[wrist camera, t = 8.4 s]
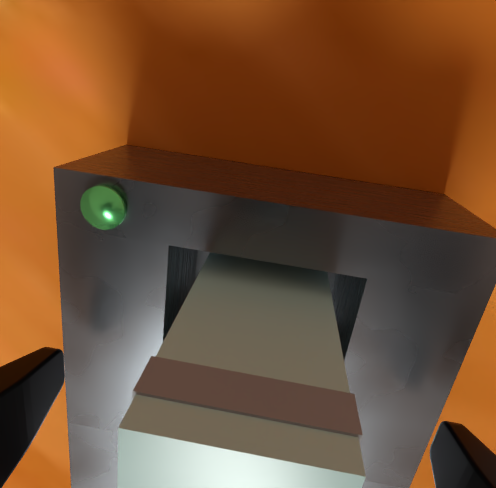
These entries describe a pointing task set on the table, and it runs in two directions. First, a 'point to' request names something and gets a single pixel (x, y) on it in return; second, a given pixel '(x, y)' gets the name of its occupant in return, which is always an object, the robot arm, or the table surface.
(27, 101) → the table surface
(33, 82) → the table surface
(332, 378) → the plug
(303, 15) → the table surface
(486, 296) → the panel
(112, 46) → the table surface
